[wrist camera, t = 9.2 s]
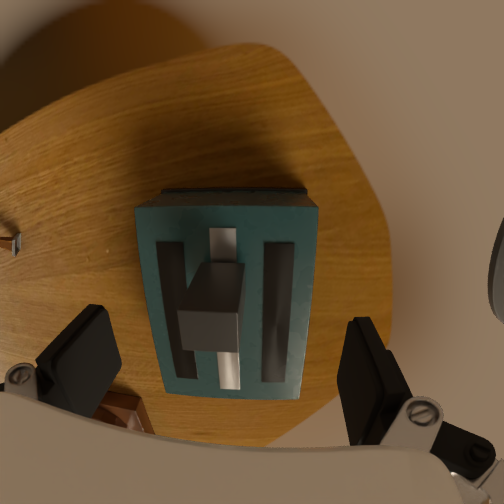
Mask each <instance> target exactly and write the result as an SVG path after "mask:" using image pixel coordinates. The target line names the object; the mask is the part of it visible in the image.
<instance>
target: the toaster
mask: <svg viewBox="0 0 504 504" xmlns="http://www.w3.org/2000/svg"><path fill="white" fill-rule="evenodd" d="M134 211H135V222H136V232H137V241H138V249H139V257H140V265H141V272H142V278H143V285H144V291H145V297H146V303H147V309H148V314H149V320H150V325H151V330H152V335H153V340H154V344H155V349H156V353H157V358H158V362H159V366H160V371H161V375H162V379H163V383H164V387H165V390H166V393H170V394H179V395H188V396H199V397H212V398H228V399H256V400H288V399H299V395H300V389H301V382H302V375H303V368H304V361H305V353H306V345H307V337H308V328H309V320H310V310H311V301H312V290H313V280H314V268H315V255H316V242H317V226H318V206H317V205H316V204H315V203H314V202H313V201H312V200H311V199H310V198H309V197H308V196H307V189H306V188H275V187H211V188H174V189H163V190H161V195H158V196H156V197H154V198H152V199H150V200H148V201H146V202H144V203H142V204H140V205H138V206H136V207H135V208H134ZM201 262H209V263H245V283H246V297H245V305H244V314H243V323H242V332H241V341H240V350H239V353H227V352H207V351H192V350H183V349H182V343H181V336H180V329H179V322H178V315H177V309H178V307H179V305H180V303H181V301H182V299H183V297H184V295H185V293H186V291H187V289H188V287H189V285H190V283H191V281H192V279H193V277H194V275H195V273H196V271H197V269H198V267H199V265H200V264H201Z"/></svg>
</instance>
